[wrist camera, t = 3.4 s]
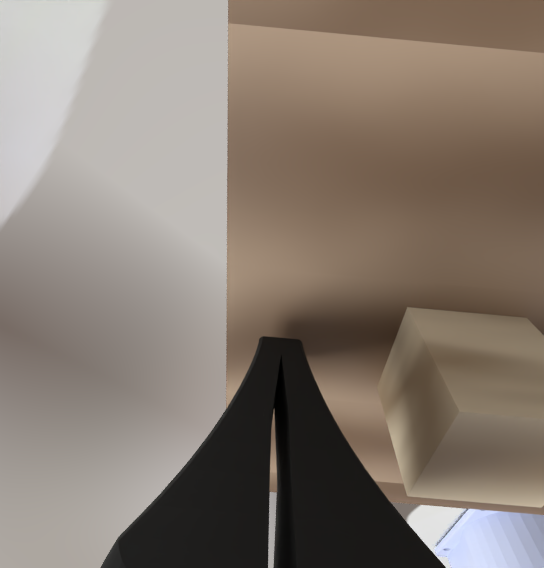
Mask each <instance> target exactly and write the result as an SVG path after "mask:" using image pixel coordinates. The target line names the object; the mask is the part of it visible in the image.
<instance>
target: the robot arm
mask: <svg viewBox="0 0 544 568" xmlns="http://www.w3.org/2000/svg"><path fill="white" fill-rule="evenodd" d="M273 413H274V417H275V442H276V466H277V503H276V504H277V505H276V527H275V551H274V568H446V567H445V566H444V565H443V564H442V563H441V561H440V560H439V559H438V558H437V557H436V556H435V555H434V554H433V552H432V551H431V550H430V549H429V548H428V547H427V546H426V545H425V543H424V542H423V541H422V540H421V539H420V538H419V536H418V535H417V534H416V533H415V532H414V531H413V529H412V528H411V527H410V526H409V525H408V524H407V522H406V521H405V520H404V519H403V517H402V516H401V515H400V514H399V513H398V511H397V510H396V509H395V507H394V506H393V505H392V504H391V502H390V501H389V500H388V499H387V497H386V496H385V494H384V493H383V492H382V490H381V489H380V488H379V486H378V485H377V484H376V482H375V481H374V480H373V478H372V477H371V475H370V474H369V473H368V471H367V470H366V469H365V467H364V466H363V464H362V463H361V461H360V460H359V458H358V457H357V455H356V454H355V452H354V451H353V449H352V448H351V446H350V445H349V443H348V441H347V440H346V438H345V437H344V435H343V433H342V432H341V430H340V428H339V426H338V425H337V423H336V421H335V419H334V417H333V416H332V414H331V412H330V410H329V408H328V406H327V404H326V402H325V400H324V398H323V396H322V394H321V392H320V390H319V387H318V385H317V383H316V381H315V378H314V376H313V374H312V371H311V369H310V366H309V363H308V361H307V358H306V355H305V352H304V348H303V344H302V342H301V341H300V340H299V339H290V338H278V337H267V336H262V337H261V338H259V343H258V346H257V350H256V352H255V355H254V358H253V360H252V362H251V365H250V367H249V369H248V371H247V373H246V375H245V377H244V379H243V381H242V383H241V385H240V387H239V389H238V390H237V392H236V394H235V395H234V397H233V399H232V400H231V402H230V404H229V405H228V407H227V409H226V411H225V412H224V413H223V415H222V417H221V418H220V420H219V421H218V423H217V424H216V425H215V427H214V428H213V430H212V431H211V433H210V434H209V435H208V437H207V438H206V439H205V441H204V442H203V443H202V445H201V446H200V447H199V449H198V450H197V451H196V452H195V454H194V455H193V456H192V458H191V459H190V460H189V461H188V462H187V464H186V465H185V466H184V467H183V468H182V470H181V471H180V472H179V473H178V474H177V475H176V477H175V478H174V479H173V480H172V481H171V482H170V483H169V484H168V486H167V487H166V488H165V489H164V490H163V492H162V493H161V494H160V495H159V496H158V497H157V498H156V499H155V500H154V501H153V502H152V503H151V504H150V505H149V506H148V507H147V509H146V510H145V511H144V512H143V513H142V514H141V515H140V516H139V517H138V518H137V519H136V520H135V521H134V522H133V523H132V524H131V525H130V526H129V527H128V528H127V529H126V530H125V531H124V532H123V533H122V534H121V535H120V536H119V537H118V539H117V540H116V542H115V544H114V545H113V547H112V549H111V550H110V552H109V554H108V555H107V557H106V559H105V561H104V562H103V564H102V566H101V568H268V534H269V533H268V531H269V491H270V456H271V427H272V420H273ZM434 550H435V553H436V555H437V556H442V557H448V560H449V563H450V566H451V568H544V515H537V514H525V513H513V512H502V511H490V510H478V509H468V510H467V512H466V513H465V514H464V515H463V516H462V517H461V519H460V520H459V521H458V522H457V523H456V524H455V525H454V527H453V528H452V529H451V530H450V531H449V532H448V534H447V535H446V536H445V537H444V538H443V539H442V541H441V542H440V543H439V544H438V545H437V546H436V547H435V549H434Z"/></svg>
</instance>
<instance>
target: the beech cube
mask: <svg viewBox="0 0 544 568" xmlns="http://www.w3.org/2000/svg"><path fill="white" fill-rule="evenodd" d="M377 389H378V393H379V396H380V400H381V404H382V407H383V411H384V414H385V418H386V422H387V425H388V429H389V432H390V436H391V440H392V443H393V447H394V450H395V454H396V458H397V461H398V465H399V468H400V472H401V476H402V479H403V483H404V486H405V490H406V494H407V496H410V497H421V498H433V499H445V500H457V501H468V502H480V503H492V504H504V505H515V506H527V507H539V508H541V507H543V506H544V335H543V334H542V333H541V332H540V331H539V330H538V329H537V328H536V327H535V326H534V325H533V324H532V323H531V322H530V321H529V320H528V319H527V318H523V317H511V316H500V315H489V314H478V313H467V312H455V311H444V310H433V309H422V308H411V307H407V309H406V312H405V315H404V317H403V320H402V323H401V325H400V328H399V331H398V333H397V336H396V338H395V341H394V344H393V346H392V349H391V352H390V354H389V357H388V360H387V362H386V365H385V368H384V370H383V373H382V376H381V378H380V381H379V384H378V386H377Z"/></svg>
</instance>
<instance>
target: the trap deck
mask: <svg viewBox="0 0 544 568" xmlns="http://www.w3.org/2000/svg"><path fill="white" fill-rule="evenodd" d="M407 307H411V308H422V309H433V310H444V311H455V312H467V313H478V314H489V315H500V316H511V317H523V318H527V319H528V320H529V321H530V322H531V323H532V324H533V325H534V326H535V327H536V328H537V329H538V330H539V331H540V332H541V333H542V334H543V335H544V0H228V173H227V364H226V365H227V367H226V368H227V371H226V381H227V383H226V409H227V407H228V405H229V404H230V402H231V400H232V399H233V397H234V395H235V394H236V392H237V390H238V389H239V387H240V385H241V383H242V381H243V379H244V377H245V375H246V373H247V371H248V369H249V367H250V365H251V362H252V360H253V358H254V355H255V352H256V350H257V346H258V343H259V338H261V337H262V336H267V337H278V338H290V339H299V340H300V341H301V342H302V344H303V348H304V352H305V355H306V358H307V361H308V363H309V366H310V369H311V371H312V374H313V376H314V378H315V381H316V383H317V385H318V387H319V390H320V392H321V394H322V396H323V398H324V400H325V402H326V404H327V406H328V408H329V410H330V412H331V414H332V416H333V417H334V419H335V421H336V423H337V425H338V426H339V428H340V430H341V432H342V433H343V435H344V437H345V438H346V440H347V441H348V443H349V445H350V446H351V448H352V449H353V451H354V452H355V454H356V455H357V457H358V458H359V460H360V461H361V463H362V464H363V466H364V467H365V469H366V470H367V471H368V473H369V474H370V475H371V477H372V478H373V480H374V481H375V482H376V484H377V485H378V486H379V488H380V489H381V490H382V492H383V493H384V494H385V496H386V497H387V499H388V500H389V501H390V502H396V503H408V504H419V505H431V506H443V507H455V508H466V509H478V510H490V511H502V512H513V513H525V514H537V515H544V506H543V507H541V508H539V507H527V506H515V505H504V504H492V503H480V502H468V501H457V500H445V499H433V498H421V497H410V496H407V494H406V490H405V486H404V483H403V479H402V476H401V472H400V468H399V465H398V461H397V458H396V454H395V450H394V447H393V443H392V440H391V436H390V432H389V429H388V425H387V422H386V418H385V414H384V411H383V407H382V404H381V400H380V396H379V393H378V389H377V386H378V384H379V381H380V378H381V376H382V373H383V370H384V368H385V365H386V362H387V360H388V357H389V354H390V352H391V349H392V346H393V344H394V341H395V338H396V336H397V333H398V331H399V328H400V325H401V323H402V320H403V317H404V315H405V312H406V309H407ZM269 492H277V466H276V442H275V417H274V413H273V420H272V427H271V456H270V491H269Z"/></svg>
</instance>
